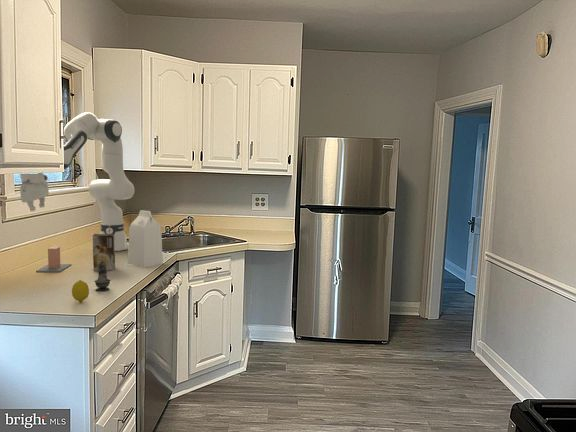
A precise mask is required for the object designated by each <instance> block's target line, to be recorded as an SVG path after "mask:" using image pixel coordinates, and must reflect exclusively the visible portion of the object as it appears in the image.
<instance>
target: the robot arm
mask: <svg viewBox="0 0 576 432" xmlns="http://www.w3.org/2000/svg"><path fill="white" fill-rule="evenodd" d="M122 128H123V127H122V125H121V124H120V122H119V121H117V120H116V119H113V118H110V119H106V118H105V119H104V118H100V119H98V118H97V116H96V115H95V114H94V113H92V112H89V111H88V112H87V111H86V112H83V113H81V114H79V115H76V117H74V118H72V119H71V120H70V121H69V122H68V123H67V124H66V125H65V126H64V129H63V133H64V136H65V138H66V140H67V142H66V143H65V144H64V145H63V146H64V170H66V169H68V168H69V167H70V165H72V162H73V160H74V158H75V156H76V155H77V154H78V153H79V152H80V150H81V149H82V148H83V147H84V145H85V144H86V143H87V140H90V141H101V145H102V146H101V158H100V159H101V163H100V164H101V169H102V170H103V171H104V172H106V173H107V174H108V176H109V179H105V178H100V179H94V180H91V182H90V183H89V185H88V192H89V194H90V196H91V197H93V198H94V199H95V201H96V202H97V204H98V206H99V210H100V218H101V224H100V233H99V232H98V234H114V237H115V252H119V251H124V250H125V251H126V250H127V251H128V246H129V240H128V238H127V235H126V232H125V231H124V230H125V224H124V220H123V219H124V218H123V217H124V216H123V210H122V208H121V207H120V206H119V205H117V204H116V202H115V201H116V200H117V201H119V200H120V201H125V200H128V199H132V198H133V196H134V194H135V185H134V184H133V183H132V182H131V181H130V180H129V178H128V177H127V175H126V174H125V170H124V148H123V147H124V146H123V141H122V133H123V129H122ZM19 175H20V180H21V185H20V186H19V191H20V193H19V194H20V201H21V202H22V203H26V204H27V206H28V208H29V211H30V212H35V211H36V206H35V204H34V201H37V200H39V204H38V205H39V206H38V207H39V208H45V201H46V200H45V199H46V197H48V196H49V183H48V181H49V180H48V175H46V174H44V173H43V172H42V173H38V174H20V173H19Z"/></svg>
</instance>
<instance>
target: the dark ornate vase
mask: <svg viewBox="0 0 576 432" xmlns="http://www.w3.org/2000/svg"><path fill="white" fill-rule="evenodd" d="M107 272H108V270H106V263H105V262H104V261H103V260H101V262H100V263H99V264H98V271H97V273H98V276H97V278H96V279H95V280H94V283H95V287H97V288H96V289H95V292H98V293H99V292H100V293H101V292H102V293H103V292H108V291H111V288H110V287H109V286H110V284H111V281H112V280H111V279H109V278H108V277H107V276H108V274H107Z"/></svg>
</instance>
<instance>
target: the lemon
mask: <svg viewBox="0 0 576 432" xmlns="http://www.w3.org/2000/svg"><path fill="white" fill-rule="evenodd" d="M89 294H90V286H89V285H88V283H87V282H85V281H84V280H81V279H79V280H78V281H76V282H74V284H72V287H71V295H72V298H73V299H74V300H75V301H77V302H79V303H82V302H83V301H85V300H86V299H88V297H89Z"/></svg>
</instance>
